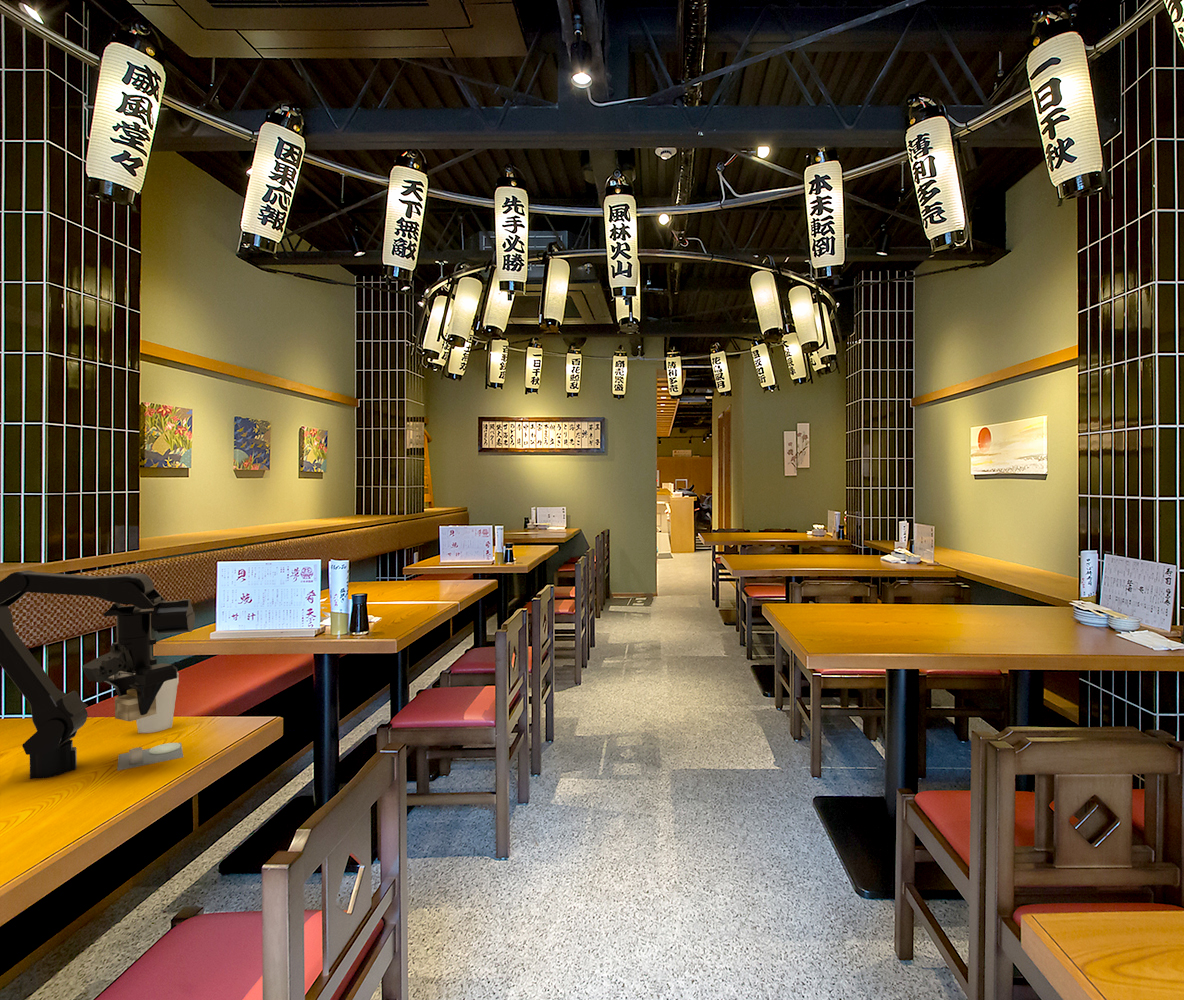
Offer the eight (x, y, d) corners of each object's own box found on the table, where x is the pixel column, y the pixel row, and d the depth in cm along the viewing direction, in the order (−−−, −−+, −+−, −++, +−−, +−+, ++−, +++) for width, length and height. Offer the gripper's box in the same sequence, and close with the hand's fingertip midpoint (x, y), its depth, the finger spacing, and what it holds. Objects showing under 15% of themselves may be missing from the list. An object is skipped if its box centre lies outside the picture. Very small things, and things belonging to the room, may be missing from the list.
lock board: (117, 775, 127) (117, 757, 127) (118, 759, 135) (118, 742, 135) (183, 761, 133) (183, 744, 133) (181, 747, 141) (180, 731, 141)
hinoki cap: (115, 718, 130) (114, 692, 130) (141, 710, 134) (140, 685, 134) (130, 721, 128) (129, 695, 128) (156, 713, 132) (155, 688, 132)
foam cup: (120, 737, 148) (119, 680, 148) (158, 723, 157) (157, 670, 157) (152, 741, 145) (151, 683, 145) (188, 727, 154) (187, 672, 154)
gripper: (62, 640, 128) (63, 719, 128) (118, 648, 120) (119, 732, 120) (123, 630, 138) (124, 703, 138) (178, 636, 130) (180, 713, 130)
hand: (135, 712), depth 131 cm, fingers closed on hinoki cap, 5 cm apart
